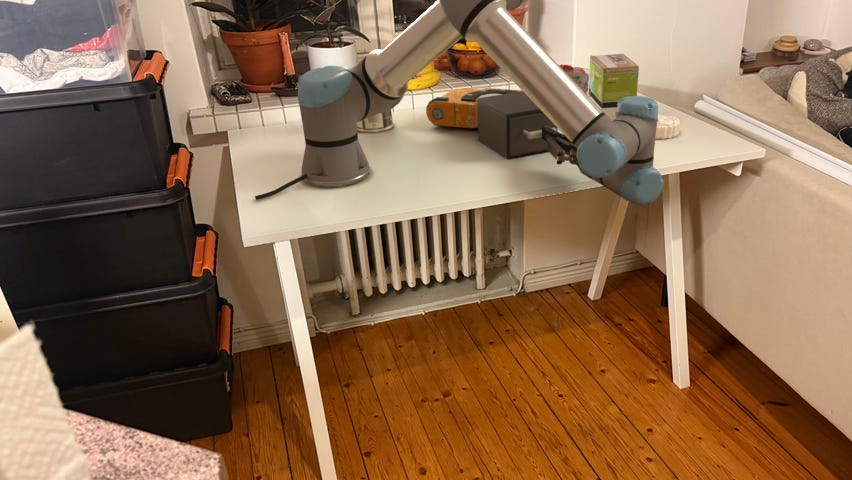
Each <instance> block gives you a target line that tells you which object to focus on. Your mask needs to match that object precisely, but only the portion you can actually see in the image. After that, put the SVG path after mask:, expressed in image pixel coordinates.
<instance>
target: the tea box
mask: <svg viewBox="0 0 852 480" xmlns="http://www.w3.org/2000/svg"><path fill="white" fill-rule="evenodd" d="M589 58H590V59H589V75H588V76H589V82H588V85H589V86H588V88H589V89H588V96H589V98H590V99H591V100H592V101H593V102H594V103H595V104H596V105H597V106H598V107H599V108H600V109H601V110H602V111H603V112H604V113H605V114H606V115H607V116H608V117H609V118H610V119H611V120H612V121H613V120H614V119H616V114H615V112H616V110H617V103H618V101H619V100H620V99H622V98H624V97H629V96H638V85H639V83H638V82H639V72H640V71H639V70H640V66H639V65H638V64H637V63H635V61H633V60H632V59H630V58H629V57H628V56H627V55H625V54H624V53H614V54H612V53H611V54H599V55H590V56H589Z"/></svg>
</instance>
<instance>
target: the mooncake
mask: <svg viewBox="0 0 852 480" xmlns="http://www.w3.org/2000/svg"><path fill="white" fill-rule="evenodd" d="M680 127H681V121H680V119H678V118H677V117H676V116H672V115H669V114H666V113H659V112H658V121H657V129H656V138H655V140H665V139H671V138H674V137H676V136H678V135H679V133H680Z"/></svg>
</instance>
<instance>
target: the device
mask: <svg viewBox="0 0 852 480" xmlns="http://www.w3.org/2000/svg"><path fill="white" fill-rule="evenodd" d="M515 92H522V90H521V89H508V88H506V89H505V88H494V87H493V88H492V87H485V88H469V87H468V88H466V87H464V88H457V89H453V90H450V91H449V92H447V93H444V94H442V95H441V96H437V97H434V98H433V99H431V100H430V101H428V103H427V105H426V107H425V110H426V111H425V113H426V116H427V118H428V121H429V122H430V123H432V125H433V126H436V127H440V128H450V127H453V128H464V129H465V128H467V129H478V103H477V98H482V97H489V96H496V95H502V94H509V93H515Z"/></svg>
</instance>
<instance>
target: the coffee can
mask: <svg viewBox="0 0 852 480" xmlns="http://www.w3.org/2000/svg"><path fill="white" fill-rule="evenodd" d="M393 127H394V123H393V114H392V109H391V110H389V111H386V112H383V113H380V114H377V115H374V116H372V117H369V118H367V119H364V120H362V121H359V122H357V131H358V132H363V133H379V132H380V133H381V132H385V131H387V130H390V129H392V128H393Z"/></svg>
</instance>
